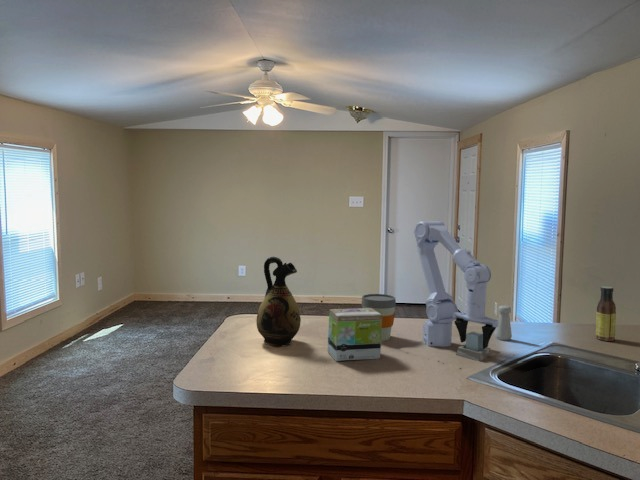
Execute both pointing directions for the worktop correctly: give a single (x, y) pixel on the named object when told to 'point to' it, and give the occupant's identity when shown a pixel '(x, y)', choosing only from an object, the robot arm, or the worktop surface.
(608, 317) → the sauce bottle
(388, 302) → the reusable coffee cup
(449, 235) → the robot arm
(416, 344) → the worktop surface
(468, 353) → the board
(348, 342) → the tea box
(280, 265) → the ceramic jug
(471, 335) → the peg
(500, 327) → the salt shaker
